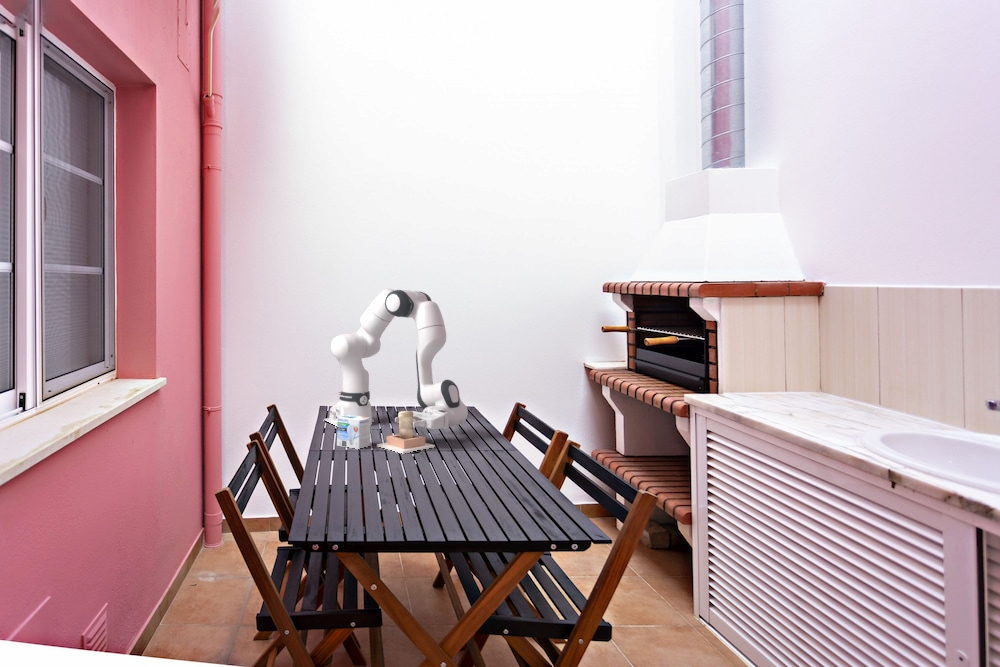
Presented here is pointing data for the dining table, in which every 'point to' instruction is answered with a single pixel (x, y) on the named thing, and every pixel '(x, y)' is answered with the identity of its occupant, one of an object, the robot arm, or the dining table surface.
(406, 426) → the ash peg
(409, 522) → the dining table surface
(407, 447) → the collar base
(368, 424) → the light bulb box
